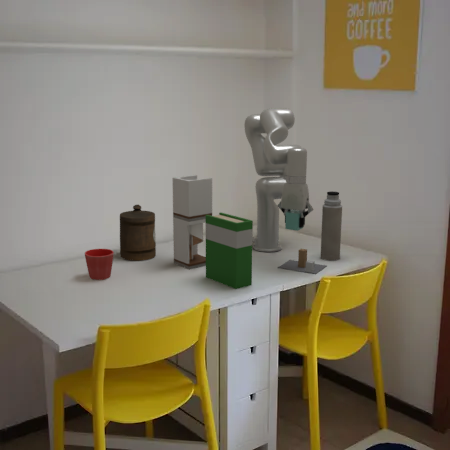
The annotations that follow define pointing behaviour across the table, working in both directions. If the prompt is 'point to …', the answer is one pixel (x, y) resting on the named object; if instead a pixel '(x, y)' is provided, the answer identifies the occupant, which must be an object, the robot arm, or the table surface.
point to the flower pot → (99, 263)
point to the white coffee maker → (190, 218)
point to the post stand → (302, 264)
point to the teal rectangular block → (292, 220)
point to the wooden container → (137, 235)
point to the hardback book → (229, 250)
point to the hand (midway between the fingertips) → (294, 225)
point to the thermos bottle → (331, 227)
